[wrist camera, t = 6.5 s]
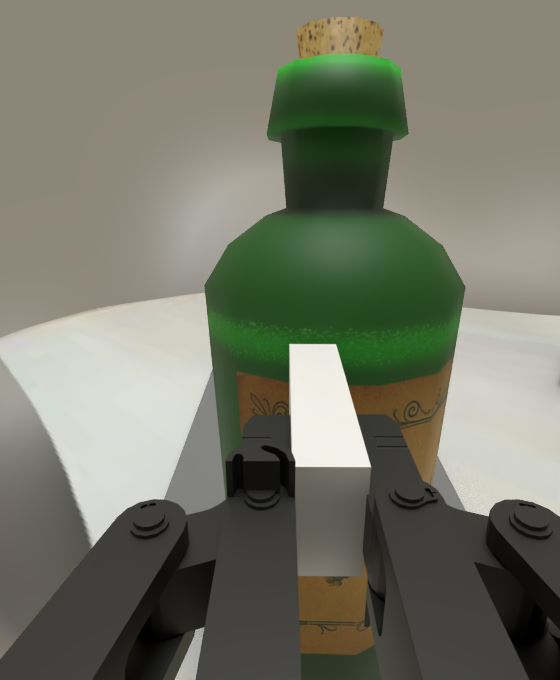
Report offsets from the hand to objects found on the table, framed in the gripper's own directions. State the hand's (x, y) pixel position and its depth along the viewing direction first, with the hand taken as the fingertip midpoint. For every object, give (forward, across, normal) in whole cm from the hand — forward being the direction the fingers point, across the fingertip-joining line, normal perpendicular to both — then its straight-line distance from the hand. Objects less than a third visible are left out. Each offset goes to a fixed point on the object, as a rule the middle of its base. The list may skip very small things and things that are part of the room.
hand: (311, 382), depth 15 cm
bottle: (+4, +1, -17) cm, 17 cm away
